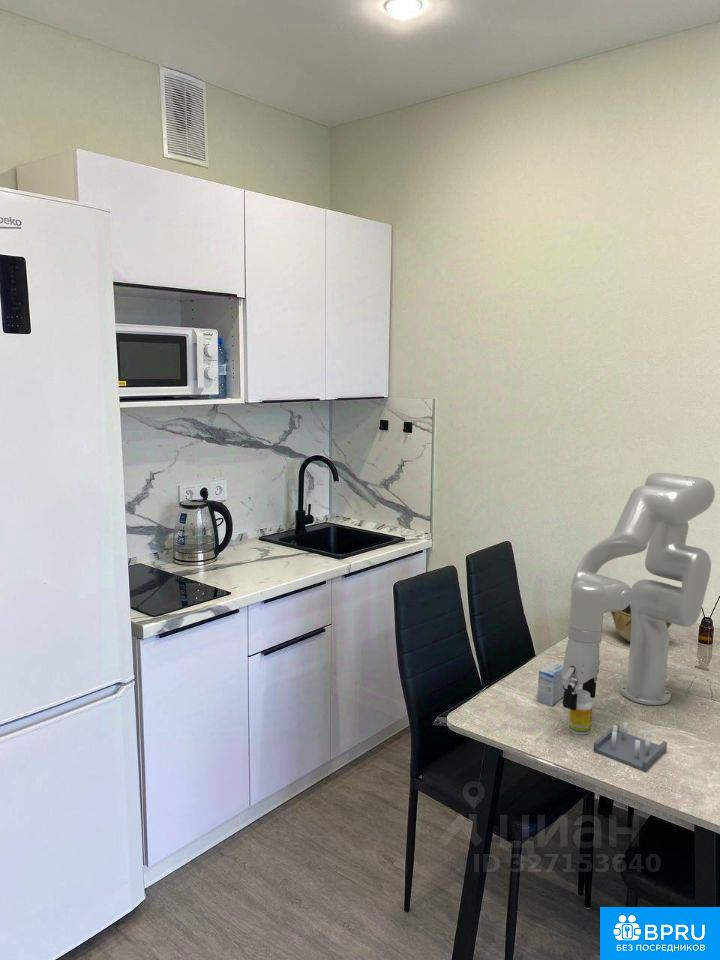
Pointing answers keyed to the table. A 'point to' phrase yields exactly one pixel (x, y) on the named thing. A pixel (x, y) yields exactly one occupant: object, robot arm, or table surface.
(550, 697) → the medicine box
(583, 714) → the supplement bottle
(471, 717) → the table surface
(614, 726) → the tray
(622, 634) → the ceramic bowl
